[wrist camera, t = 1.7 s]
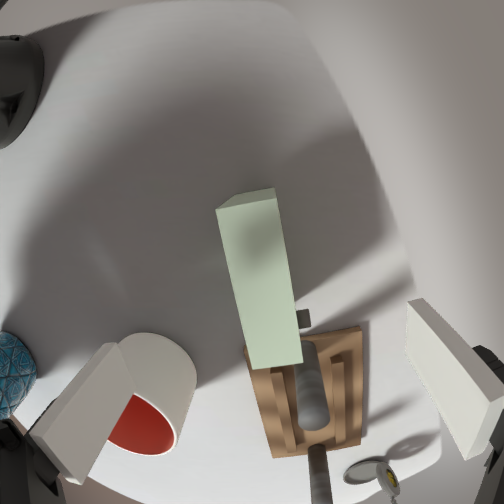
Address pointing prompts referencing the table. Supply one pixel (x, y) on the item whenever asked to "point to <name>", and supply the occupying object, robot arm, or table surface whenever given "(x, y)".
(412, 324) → the robot arm
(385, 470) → the pocket watch
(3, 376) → the lamp
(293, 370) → the hinge board
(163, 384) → the cup
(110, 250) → the table surface
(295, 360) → the door
